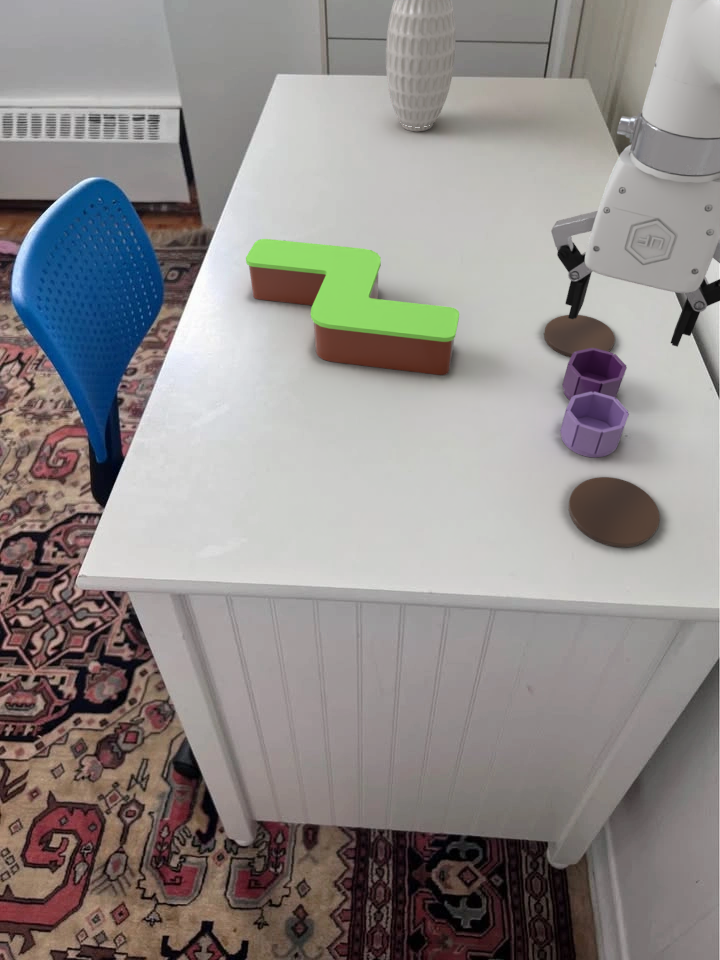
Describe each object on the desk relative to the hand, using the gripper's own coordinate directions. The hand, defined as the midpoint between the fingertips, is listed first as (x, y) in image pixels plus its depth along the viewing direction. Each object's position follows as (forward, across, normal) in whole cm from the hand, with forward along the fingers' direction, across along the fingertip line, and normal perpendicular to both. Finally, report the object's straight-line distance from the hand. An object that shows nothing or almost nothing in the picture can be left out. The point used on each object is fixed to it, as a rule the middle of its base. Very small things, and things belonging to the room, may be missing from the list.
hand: (624, 324), depth 69 cm
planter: (+17, -35, +10) cm, 40 cm away
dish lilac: (+16, 0, +1) cm, 16 cm away
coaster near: (+16, +5, -9) cm, 19 cm away
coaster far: (+16, -6, +19) cm, 26 cm away
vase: (+18, -52, +75) cm, 93 cm away
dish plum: (+16, -2, +9) cm, 19 cm away
